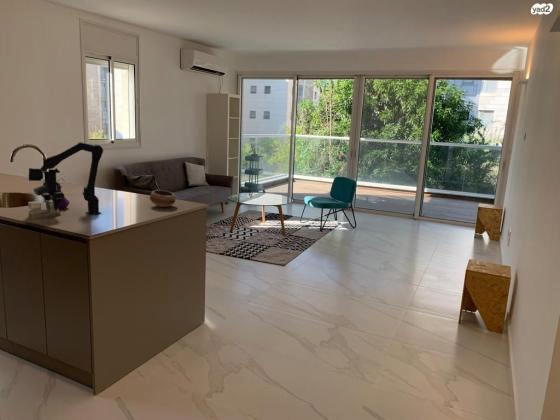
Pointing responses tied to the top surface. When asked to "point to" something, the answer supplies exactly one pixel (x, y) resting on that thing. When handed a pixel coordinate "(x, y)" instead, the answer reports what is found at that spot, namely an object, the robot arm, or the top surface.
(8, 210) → the top surface
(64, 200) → the perfume bottle
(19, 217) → the top surface
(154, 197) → the bowl
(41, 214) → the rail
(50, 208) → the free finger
